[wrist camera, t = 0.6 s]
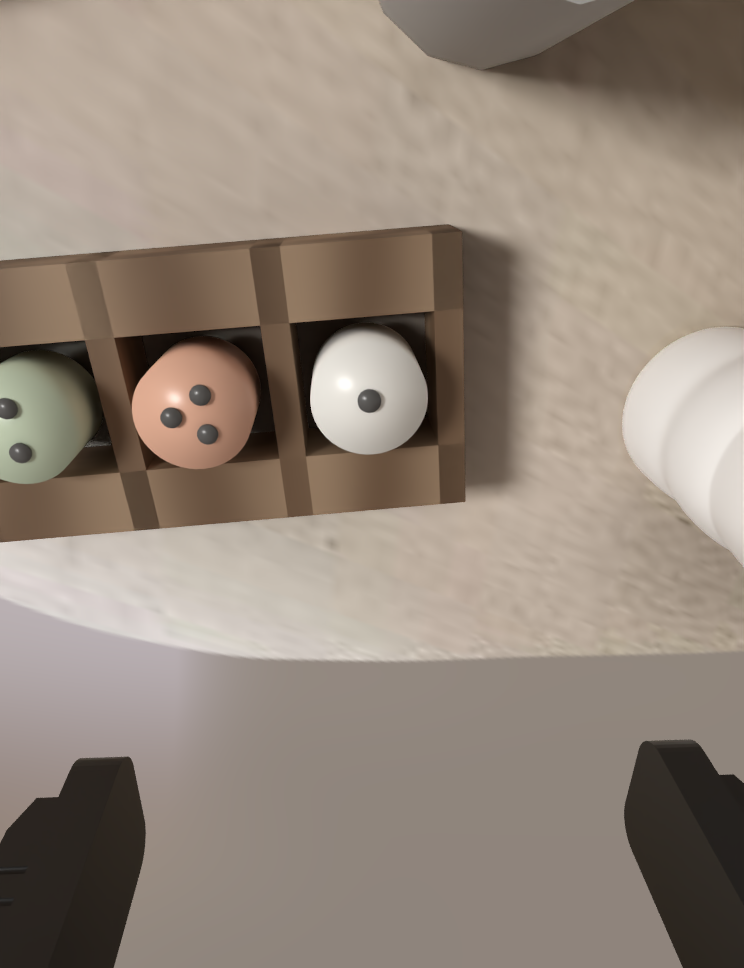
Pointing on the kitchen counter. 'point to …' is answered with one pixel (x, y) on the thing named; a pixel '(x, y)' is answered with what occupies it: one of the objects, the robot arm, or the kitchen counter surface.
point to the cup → (493, 26)
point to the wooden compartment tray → (276, 309)
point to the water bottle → (694, 429)
